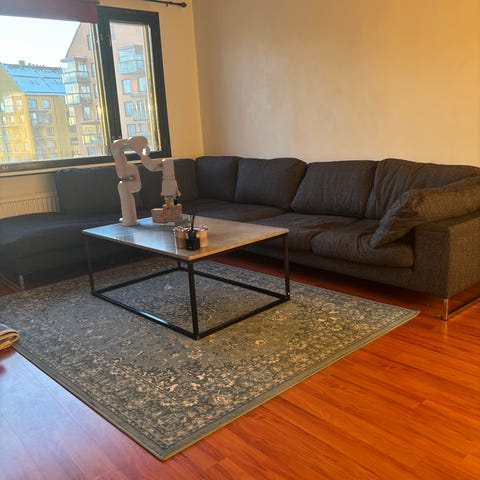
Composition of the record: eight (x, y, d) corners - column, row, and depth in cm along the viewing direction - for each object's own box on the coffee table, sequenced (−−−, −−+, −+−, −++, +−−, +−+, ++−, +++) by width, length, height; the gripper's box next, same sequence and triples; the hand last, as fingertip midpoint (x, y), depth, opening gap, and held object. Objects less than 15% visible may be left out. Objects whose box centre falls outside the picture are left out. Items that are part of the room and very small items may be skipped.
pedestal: (165, 209, 324) (164, 198, 322) (170, 207, 329) (169, 196, 328) (173, 209, 321) (172, 198, 320) (178, 207, 327) (177, 196, 325)
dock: (158, 230, 324) (157, 222, 323) (171, 225, 338) (170, 217, 337) (176, 230, 318) (176, 222, 317) (188, 225, 333) (188, 217, 331)
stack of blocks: (152, 222, 353) (150, 205, 351) (155, 221, 359) (153, 204, 357) (180, 222, 349) (178, 205, 346) (183, 220, 355) (181, 203, 352)
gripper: (154, 179, 321) (157, 206, 325) (177, 178, 314) (180, 206, 318) (161, 177, 328) (163, 204, 332) (183, 177, 321) (185, 204, 325)
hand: (171, 205), depth 325 cm, fingers closed on pedestal, 5 cm apart
